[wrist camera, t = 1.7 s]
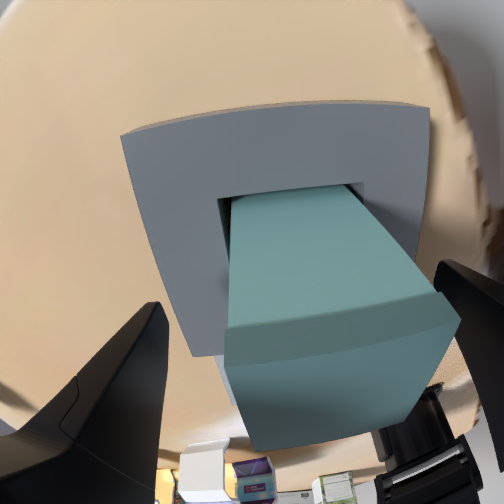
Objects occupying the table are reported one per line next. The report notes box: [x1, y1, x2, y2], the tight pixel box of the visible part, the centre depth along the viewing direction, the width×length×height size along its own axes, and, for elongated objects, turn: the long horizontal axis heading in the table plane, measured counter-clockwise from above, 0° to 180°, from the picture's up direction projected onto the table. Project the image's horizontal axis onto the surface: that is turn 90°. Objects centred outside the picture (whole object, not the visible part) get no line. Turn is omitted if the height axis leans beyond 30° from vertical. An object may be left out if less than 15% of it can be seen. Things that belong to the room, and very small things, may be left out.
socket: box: [120, 100, 430, 357], centre depth 11 cm, size 10×10×2 cm
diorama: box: [155, 437, 278, 504], centre depth 22 cm, size 25×10×13 cm, turn 120°
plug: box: [224, 184, 461, 452], centre depth 9 cm, size 4×4×8 cm
